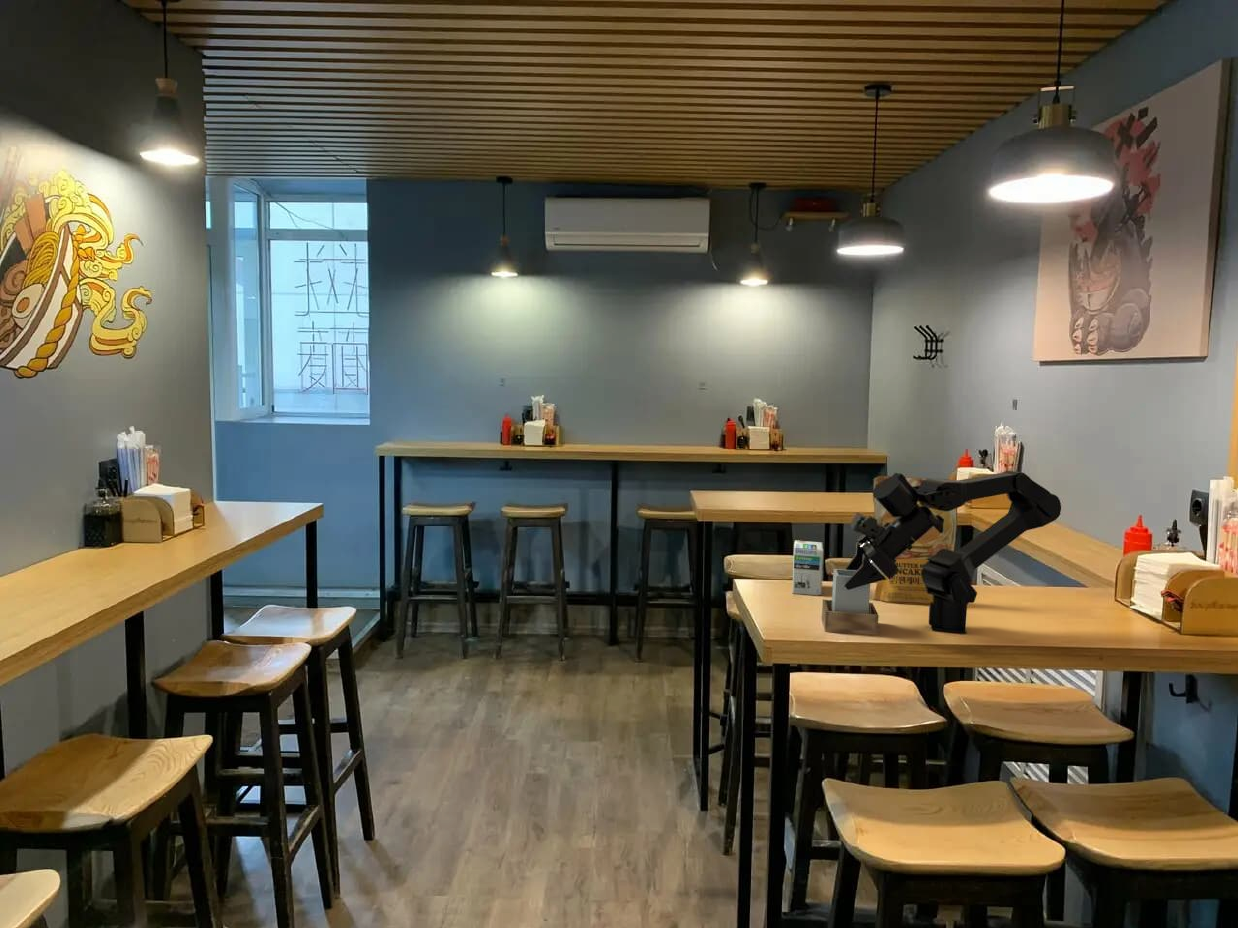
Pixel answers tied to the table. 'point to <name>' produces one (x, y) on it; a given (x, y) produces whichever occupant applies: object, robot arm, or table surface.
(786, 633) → the table surface
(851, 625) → the walnut crate
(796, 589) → the light bulb box
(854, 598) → the grey crate
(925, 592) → the pancake mix bag
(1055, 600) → the table surface
